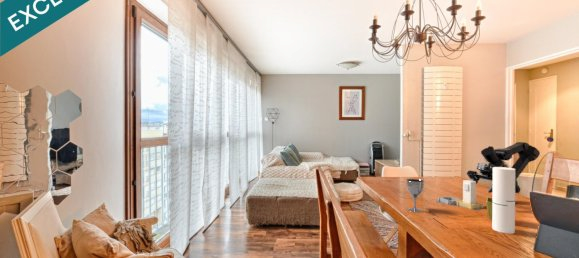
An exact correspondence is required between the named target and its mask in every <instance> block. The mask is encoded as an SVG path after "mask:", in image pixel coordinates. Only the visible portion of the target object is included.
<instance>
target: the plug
mask: <svg viewBox="0 0 579 258" xmlns="http://www.w3.org/2000/svg"><path fill="white" fill-rule="evenodd" d="M462 200H463V202H464V203H468V204H476V202H477V184H476V181H471V179H466V180H462Z"/></svg>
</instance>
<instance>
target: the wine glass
mask: <svg viewBox="0 0 579 258" xmlns="http://www.w3.org/2000/svg"><path fill="white" fill-rule="evenodd" d="M424 186H425V181H424V180H423V179H420V178H407V179H406V189H407V192H408V193H409V194H410V196H412V199H413V207H409V208H407V211H409V212H412V213H423V212H424V210H423V209H420V208H417V200H418V197H419V196H420V195H421V194H422V193H423V192H424Z"/></svg>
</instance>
